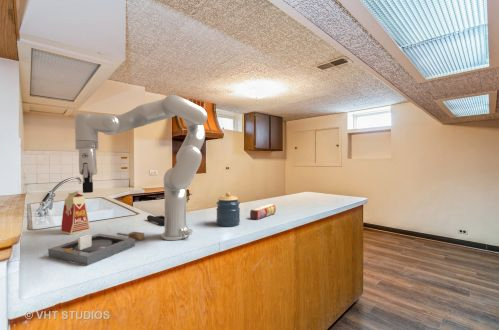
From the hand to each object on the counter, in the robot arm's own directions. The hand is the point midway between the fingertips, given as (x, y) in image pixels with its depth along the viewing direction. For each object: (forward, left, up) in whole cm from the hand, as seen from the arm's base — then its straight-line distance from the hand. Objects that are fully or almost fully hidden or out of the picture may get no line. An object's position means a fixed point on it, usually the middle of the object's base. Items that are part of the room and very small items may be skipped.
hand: (87, 192), depth 98 cm
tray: (-5, +1, -22) cm, 23 cm away
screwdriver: (-5, -16, -22) cm, 28 cm away
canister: (-35, -55, -23) cm, 69 cm away
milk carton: (+29, -15, -23) cm, 40 cm away
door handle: (+1, -48, -23) cm, 53 cm away
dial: (-5, +1, -21) cm, 22 cm away
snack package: (-47, -80, -23) cm, 95 cm away
